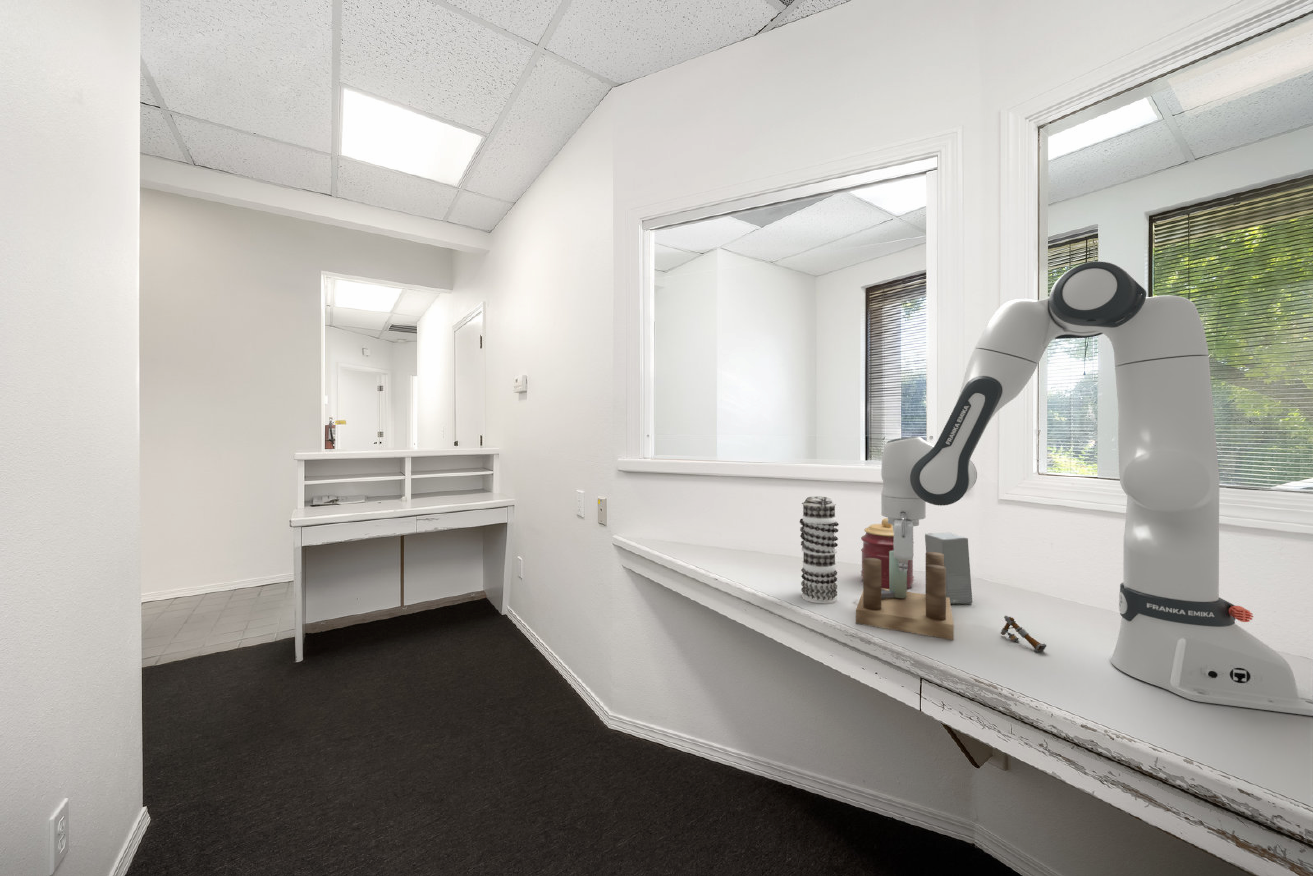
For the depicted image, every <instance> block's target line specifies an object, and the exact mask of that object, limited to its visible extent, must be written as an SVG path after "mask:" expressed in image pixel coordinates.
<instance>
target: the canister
mask: <svg viewBox="0 0 1313 876" xmlns="http://www.w3.org/2000/svg"><path fill="white" fill-rule="evenodd" d="M863 531H864V532H865V534H863V535H862V536H861V537H860V539H861V540H860V541H862V548H861V550H860V552H861V570H860V572H861V573H860V577H861V579H862V580H861V581H863V559H864V558H876V559H880V560H881V588H883V589H889V551H894V533H893V525H891V524H889V523H888V517H884V518H883V519H882V520H881V523H875V524H874V523H873V524H870V525H869V526H867V527H865V528H864V530H863ZM913 544H915V542H914V541H913ZM913 557H914V553H913ZM914 577H915V576H914V558H913V559H912V560H908V570H907V589H910V588H912V587H913V585H914V581H915V579H914ZM911 586H912V587H911Z"/></svg>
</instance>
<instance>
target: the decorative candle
mask: <svg viewBox="0 0 1313 876" xmlns="http://www.w3.org/2000/svg"><path fill="white" fill-rule="evenodd" d="M801 504H802V506H803V507H802V509H803V510H802V513H803V514H802V518H800V520H799V524H800V525H801V527H799V531H800V536H799V537H800V538H801V541H800V546H801V552H803V553H802V554H803V560H802V568H801V570H800V571H801V572H802V574H801V578H802V581H801V582H800V585H801V589H800V590H801V592H802V593H801V598H802V599H804V600H805V601H806V602H810V603H814V604H820V605H821V604H822V605H823V604H826V605H827V604H835V603H836V602H837V601H838V597H837V596H838V591H837V590H838V585H837V583H836V582H837V581H838V577H837V575H838V571H837V570H836V569H837V565H836V554H837V553H838V551H837V548H836V547H838V545H839V544H838V543H837V542H836V541H838V540H839V537H837V536H836V535H835V534H836V533H839V529H838V528H837V527H839V522H837V521H836V519H837V517H836V506H837V505H836V503H834V502H833V500H832V499H831V498H830V497H826V496H808V497H806V499H805V500H804V501H803V502H802V503H801Z"/></svg>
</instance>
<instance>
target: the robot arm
mask: <svg viewBox="0 0 1313 876" xmlns="http://www.w3.org/2000/svg"><path fill="white" fill-rule="evenodd" d="M1205 332H1206V331H1205V328H1204V325H1203V322H1202V320H1201V317H1200V313H1199V312H1198V309H1197V307H1196V304H1195V303H1193V301H1191V300H1190V299H1189V298H1187V297H1184V296H1179V295H1169V294H1166V295H1155V296H1150V297H1149V296H1147V290H1146V289H1145V288H1144V287H1142V285H1141V284H1139V283H1138V282H1137V281H1136V280H1135V279H1134V278H1133V276H1131V275H1130V273H1128V272H1127V271H1126V270H1125V269H1123V268H1122V267H1120V266H1118V265H1117V264H1114V263H1112V262H1108V261H1101V260H1100V261H1099V260H1098V261H1089V262H1084V263H1081V264H1078V265H1076V266H1073V267H1072V268H1070V269H1069V270H1067V271H1065V272H1064V273H1063V274H1062V275H1060V277H1059V278H1058V279H1057V280H1056V281H1055V282H1054V284H1053V286H1052V287H1051V289H1050V293H1049V296H1048V297H1046V298H1044V299H1041V300H1040V299H1037V300H1034V299H1030V298H1029V299H1028V298H1024V299H1023V298H1019V299H1014V300H1010V301H1007V302H1006V303H1004V304H1003V305H1001V306H1000V307H999V308H998V309H997V311H996V312H995V313H994V315H993V316H992V318H991V319H990V320H989V322H988V324H987V325H986V327H985V329H984V330H983V331H982V333H981V336H980V337H979V339H978V341H977V343H976V345H975V346H974V349H973V351H972V354H971V356H970V358H969V361H968V364H967V367H966V369H965V372H964V375H963V380H962V384H961V386H960V390H959V395H958V396H957V401H956V403H955V405H954V408H953V410H952V411H951V414H950V416H949V417H948V419H947V421H946V423H945V425H944V427H943V429H942V430H941V433H940V435H939V437H938V439H937V441H936V443H935V444H932V443H931V442H928V441H926V440H924V439H923V438H922V437H920V436H916V435H913V436H906V437H905V436H904V437H899V438H894V439H891V440H889V441H887V442H886V443H885V444H884V446H883V451H882V455H881V456H882V457H881V471H880V472H881V473H880V475H881V480H882V490H881V503H880V504H881V508H880V509H881V516H883V517H884V518H888V523H889V524H891V525H893V533H894V558H896V559H898V562H899V570H900V571H907V570H908V560H912V559H913V560H914V556H913V554H914V543H913V542H914V527H917V526H919V525H920V520H924V519H926V508H927V506H926V503H928V504H930V505H934V506H940V507H941V506H949V505H952V504H955V503H957V502H958V501H960V500H962V498H963V497H964V496H965V494H967V492H969V491H970V490H971V489H972V488H973V487H974V486H975V484H976V482H977V477H978V472H977V471H978V470H977V468H976V466H975V465H974V464H975V463H974V462H973V461H971V459H972V455H973V453H974V452H975V450H976V448H977V445H978V444H979V442H980V440H981V438H982V436H983V434H984V432H985V430H986V428H987V426H988V424H989V423H990V421H991V419H993V417H994V416H995V415H996V413H998V412H999V411H1000V409H1002V408H1003V407H1005V406H1006V405H1007V404H1009V403H1010V402H1012V401H1013V400H1014V399H1015V398H1017V396H1018V395H1019V394H1020V393H1021V391H1023V389H1024V388H1025V386H1026V385H1027V384H1028V383H1029V381H1030V379H1031V378H1032V377H1033V374H1034V373H1035V371H1036V369H1037V367H1038V365H1039V363H1040V361H1041V359H1042V357H1043V355H1044V353H1045V351H1046V350H1047V348H1048V347H1049V345H1050V343H1052V341H1053V340H1054V339H1055V340H1056V339H1057V340H1062V339H1088V338H1094V337H1097V336H1101V335H1105V336H1106V337H1107V338H1108V339H1109V341H1110V342H1111V343H1110V344H1111V345H1112V346H1111V347H1112V349H1113V357H1114V369H1115V370H1114V371H1115V384H1116V397H1117V408H1118V409H1117V410H1118V418H1117V419H1118V425H1117V427H1118V430H1117V432H1118V434H1117V435H1118V440H1117V441H1118V442H1117V443H1118V475H1119V482H1120V483H1119V484H1120V486H1121V489H1122V490H1123V492H1124V493H1125V495H1126V496H1127V497H1126V512H1125V513H1126V514H1125V523H1124V525H1125V526H1124V532H1123V533H1124V535H1123V563H1122V564H1123V569H1122V570H1123V572H1122V573H1123V574H1122V575H1123V579H1122V580H1123V581H1122V582H1121V583H1120V585H1119V592H1118V610H1119V615H1120V616H1121V620H1120V626H1119V632H1118V636H1117V640H1116V643H1115V647H1114V650H1113V652H1112V654H1111V656H1110V659H1109V660H1110V662H1111V664H1112V665H1113V666H1114V667H1115V668H1116V669H1118V670H1119V671H1121V672H1122V673H1125V674H1127V675H1129V676H1131V677H1133V678H1135V679H1138V680H1140V681H1143V682H1145V683H1148V684H1151V685H1154V686H1157V687H1160V688H1162V689H1164V690H1167V691H1170V692H1171V693H1174V694H1176V695H1178V696H1180V697H1183V698H1184V699H1186V700H1187V699H1188V700H1191V701H1195V702H1200V703H1201V702H1202V703H1208V704H1215V705H1216V704H1217V705H1225V706H1231V707H1241V708H1247V709H1248V708H1249V709H1257V710H1263V711H1264V710H1265V711H1270V712H1271V711H1273V712H1280V713H1288V714H1295V715H1296V714H1297V715H1304V716H1309V717H1310V716H1312V717H1313V695H1312V694H1310V692H1308V691H1307V690H1305V689H1304V688H1302V687H1300V686H1299V685H1297V682H1296V678H1295V675H1294V671H1293V670H1292V667H1291V665H1290V664H1289V662H1288V661H1287V660H1286V659H1285V658H1284V657H1283V656H1282V655H1281V654H1280V653H1279V652H1277V651H1276V650H1274V649H1273V648H1272V647H1270V646H1269V645H1267V643H1264V642H1263V641H1262V640H1260V639H1259V638H1257V637H1256V636H1254V635H1253V634H1252V633H1250V632H1248V631H1247V630H1245V629H1244V628H1242V627H1241V626H1239V625H1238V624H1236V622H1235V621H1236V620H1237V621H1239V622H1242V623H1249V622H1251V621H1252V620H1253V618H1254V616H1253V613H1252V612H1251V611H1250V610H1248V609H1246V608H1244V606H1240V605H1235V604H1233V603H1231V602H1229V601H1227V600H1225V599H1223V598H1221V596H1219V594H1220V477H1221V476H1220V470H1219V463H1218V462H1219V461H1218V450H1217V438H1216V426H1215V415H1214V413H1215V412H1214V402H1213V392H1212V391H1213V390H1212V388H1213V387H1212V379H1211V378H1212V377H1211V367H1210V357H1209V356H1210V355H1209V347H1208V342H1207V337H1206V336H1207V335H1206V333H1205Z"/></svg>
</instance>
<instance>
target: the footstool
mask: <svg viewBox="0 0 1313 876" xmlns="http://www.w3.org/2000/svg"><path fill="white" fill-rule="evenodd" d="M862 581H863V582H862V583H863V584H862V587H863V588H862V589H863V590H862V593H861V595H860V598H859V601H858V603H857V606H856V608H855V624H857V623H860V624H859V625H863V624H865V625H864V626H869V625H870V626H869V627H876V628H880V627H882V628H881V629H886V628H887V629H888V630H894V631H899V632H905V633H909V632H912V633H911V634H915V633H917V634H916V635H921V634H923V635H922V636H927V635H928V636H929V637H933V636H935V637H934V638H938V637H940V638H939V639H944V640H945V639H946V640H951V641H954V639H955V638H954V626H955V625H954V621H953V620H954V618H953V613H952V607H951V606H952V605H951V604H950V598H949V597H946V568H945V567H944V554H941V553H937V552H926V551H925V593H920V592H919V593H918V592H912V591H907V597H906V598H896V597H891V598H881V591H888V590H889V589H885V588H881V560H880V559H876V558H864V559H863V580H862Z"/></svg>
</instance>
